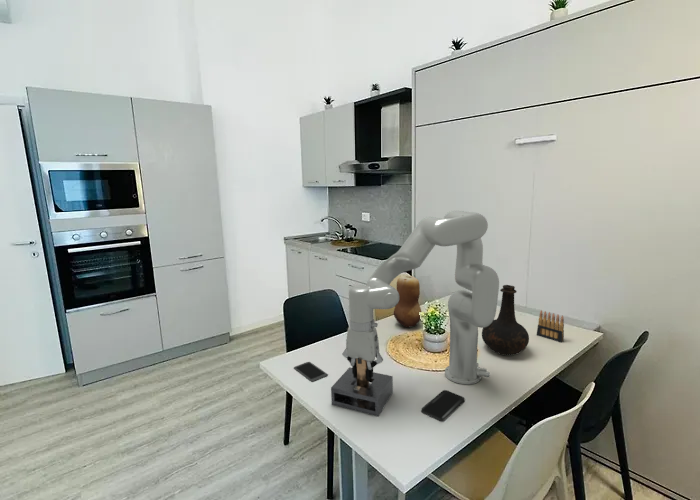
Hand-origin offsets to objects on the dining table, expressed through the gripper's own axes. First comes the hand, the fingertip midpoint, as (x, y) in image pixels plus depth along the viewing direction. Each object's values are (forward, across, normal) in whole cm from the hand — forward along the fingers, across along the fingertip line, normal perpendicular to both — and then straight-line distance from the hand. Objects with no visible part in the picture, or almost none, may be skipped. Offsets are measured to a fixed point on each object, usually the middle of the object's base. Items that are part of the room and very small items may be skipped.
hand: (362, 376), depth 118 cm
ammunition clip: (+8, -59, -74) cm, 95 cm away
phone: (+8, -25, -6) cm, 27 cm away
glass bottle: (+8, -41, -54) cm, 68 cm away
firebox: (+8, 0, 0) cm, 8 cm away
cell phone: (+8, +25, -8) cm, 28 cm away
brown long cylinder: (+6, 0, 0) cm, 6 cm away
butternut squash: (+8, +4, -66) cm, 66 cm away
